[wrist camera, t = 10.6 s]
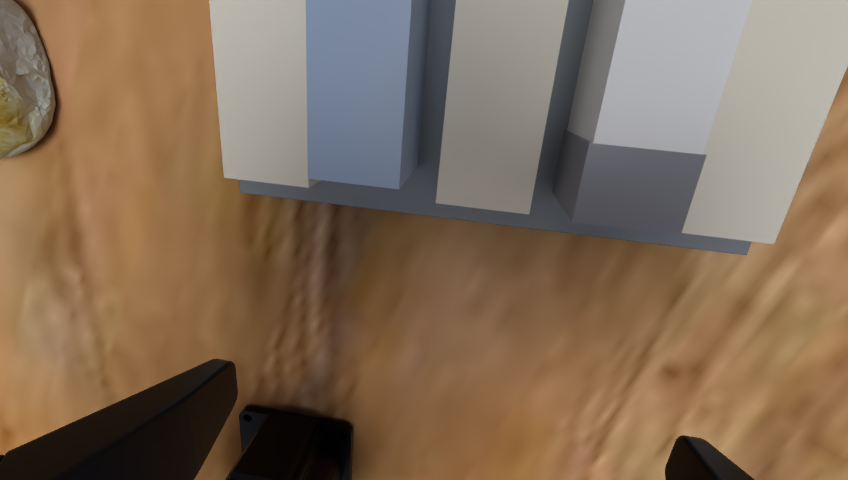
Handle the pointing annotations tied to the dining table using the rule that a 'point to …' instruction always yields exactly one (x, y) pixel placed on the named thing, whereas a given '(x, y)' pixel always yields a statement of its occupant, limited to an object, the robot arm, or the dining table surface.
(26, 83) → the bread roll
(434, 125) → the rack
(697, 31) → the grey white bar
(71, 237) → the dining table surface
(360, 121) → the grey rectangular bar
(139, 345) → the dining table surface
